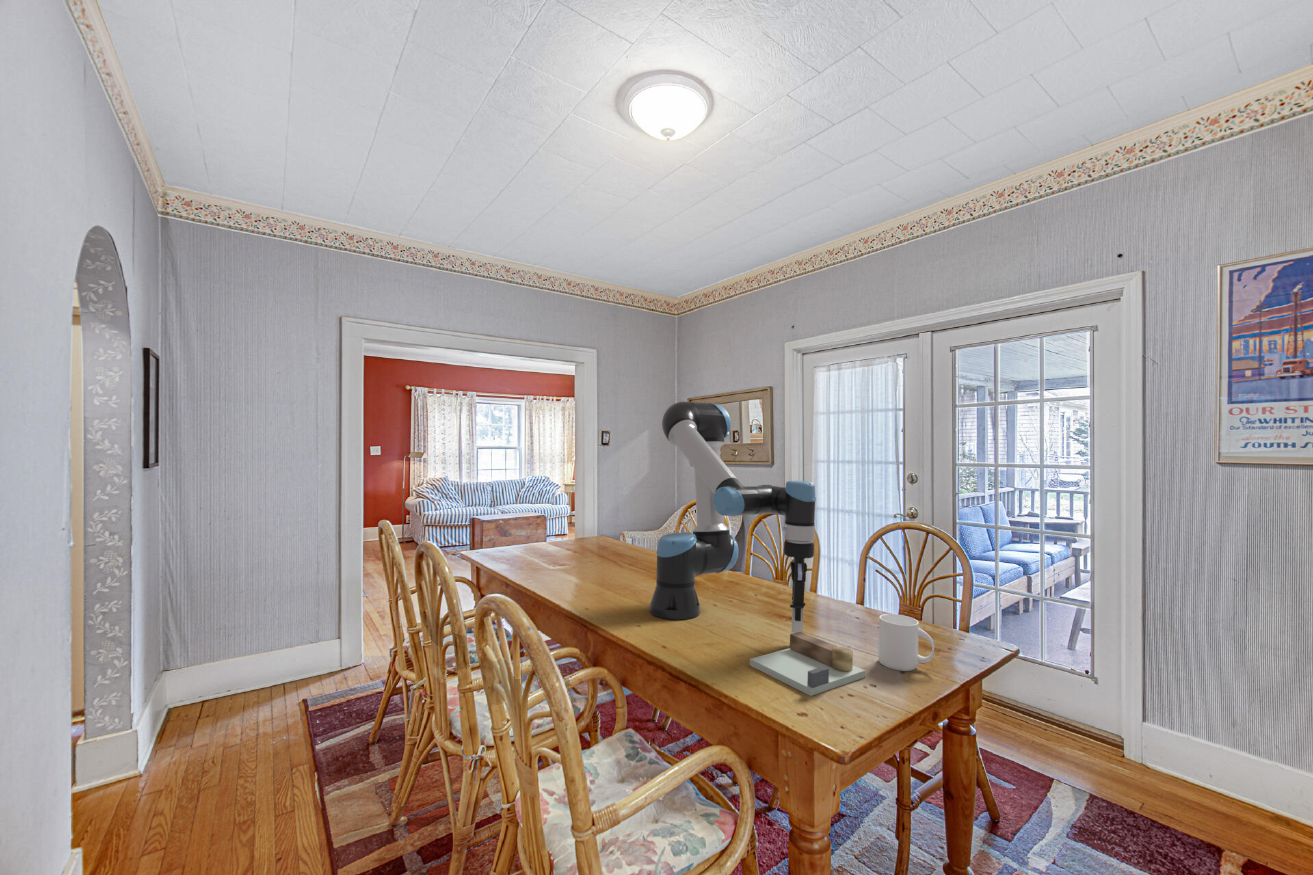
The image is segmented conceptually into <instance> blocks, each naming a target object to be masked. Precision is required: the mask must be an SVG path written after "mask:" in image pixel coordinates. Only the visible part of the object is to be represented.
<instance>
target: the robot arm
mask: <svg viewBox="0 0 1313 875" xmlns="http://www.w3.org/2000/svg"><path fill="white" fill-rule="evenodd" d="M731 422H732V421H731V416H730V415H729V413H728V410H727V409H726V408H724V407H723V406H722V405H720V404H716V403H711V402H694V401H693V402H691V401H678V402H676V403H672V405H670V406H669V407H668V408H667V409H666V411H665V412H664V414H663V416H662V421H661V427H662V428H661V429H662V430H663V433H664V436H665V438H666V439H667V440H668V442H669V443H670V444H671V445H672V446H674V447H677V448H678V449H679V451H680V452H681V454H683V456H684V457H685V458H686V459H687V461H688V462H689V464H690V465H691V467H693V469H694V486H695V503H696V504H695V506H696V507H695V508H696V526H695V527H694V528H693V529H692V532H686V531H683V532H682V531H681V532H671V533H667V534H664V535H661V537H659V539H658V540H657V548H656V582H655V583H656V584H655V585H656V586H655V589H654V591H653V594H652V598H651V601H650V604H649V613H650V614H651V615H653V616H654V617H657V618H660V619H665V620H679V621H680V620H689V619H694V618H696V617H698V616H700V613H701V605H700V602H699V598H698V595H697V590H696V586H695V583H696V582H695V581H696V576H700V575H707V574H714V573H715V574H720V573H723V572H727V571H729V570H731V569H732V568H734V565H736V563H737V561H738V557H739V545H738V542H737V540H736V538H735V537H734V536H733V535H732V534H731V533H730V527H728V526H727V525H726V524H725V516H726V517H739V516H750V515H769V514H771V515H772V514H774V515H779V516H784V524H785V525H784V526H783V527H782V529H781V530H782V531H784V539H785V541H783V542H784V544H783V546H784V547H783V550H784V551H783V554H784V556H786V557H789V558H793V561H790V570H791V571H790V573H791V574H790V575H791V577H790V578H791V581H792V584H791V586H792V588H791V589H792V591H791V592H792V594H791V595H792V596H791V600H792V601H791V603H790V604H789V608H790V609H791V634H792V633H797V632H802V633H804V632H803V631H804V630H803V629H804V608H805V606H806V602H805V587H806V586H805V583H806V580H807V578H806V577H807V571H808V564H807V562H805V559H812V558H814V555H815V543H814V541H815V538H816V537H815V536H816V535H815V534H816V533H815V532H816V525H815V522H816V519H815V518H816V516H815V515H816V501H817V500H816V499H817V497H816V486H815V483H814V482H812V481H808V480H807V481H804V480H788V481H787V482H786V483H785V487H784V486H778V485H777V486H775V485H772V484H758V485H755V486H754V485H752V486H749V485H748V486H744V485H743V484H742V482H741V481H740V480H739V479H738V478H737V477H736V475H735V474H734V473H733V472H732V471H731V469H729V467H728V466H727V465H726V464H725V462H724V461H723V460H722V459H721V448H722V447H723V446H724V444H725V439H726V438H727V437H728V436H729V435H730V431H731V428H732V423H731Z"/></svg>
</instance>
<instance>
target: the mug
mask: <svg viewBox="0 0 1313 875" xmlns="http://www.w3.org/2000/svg"><path fill="white" fill-rule="evenodd" d="M878 624H879V625H878V649H877V650H878V652H877V654H878V662H879V663H880V664H881V665H882V666H884V667H885V668H888V669H890V670H895V671H899V672H901V671H902V672H911V671H915V669H917V668H918V664H925V663H928V662H930V661H931V660H932V658H933V656H934V653H935V642H934V640H933V638H932V637H931V636H930V635H929V633H927V632H926V631H925V630H923V629H922V628H921V627H920V624H919V621H918V620H917V619H915V618H914V617H911V616H907V615H903V614H896V613H885V614H881V615H879V618H878ZM919 637H920V638H924V639H926V640H927V641H928V642H929V644H930V646H931V648H932V649H931V653H930V654H929V655H927V656H923V655H920V654H919Z"/></svg>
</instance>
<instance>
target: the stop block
mask: <svg viewBox="0 0 1313 875" xmlns="http://www.w3.org/2000/svg"><path fill="white" fill-rule="evenodd" d="M827 683H829V668H826V667H824V666H823V667H820V668H816V669H813V670H810V671H808V681H807V686H809V687H811V688H815V687H818V686H821V685H824V684H827Z"/></svg>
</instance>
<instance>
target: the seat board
mask: <svg viewBox="0 0 1313 875" xmlns="http://www.w3.org/2000/svg"><path fill="white" fill-rule="evenodd" d="M749 666H750V667H752V668H754V669H757V670H758V671H759V672H760V671H761V672H762V673H764V674H766V675H768V676H770V677H772V678H774V679H776V680H778V681H780V682H782V683H784V684H786V685H788V686H790V687H792V688H794V689H796V690H798V691H800V692H802V693H803V694H806V695H808V696H810V697H813V696H816V695H819V694H822V693H824V692H826V691H829V690H832V689H835V688H838V687H840V686H843V685H847V684H850V683H852V682H855V681H858V680H861V679H864V678H866V670H865V669H862V668H861V667H858V666H855V665H853V668H852V670H851V671H839V670H836V669H834V668H833V667H832V666H829V665H827V664H825V663H822V662H820V661H818V660H815V659H813V658H811V657H808V656H806V655H804V654H802V653H799V652H797V651H795V650H792V649H790V647H789V648H785V649H780V650H778V651H775V652H770V653H767V654H763V655H759V656H756V657H751V658H749ZM823 666H824V667H826V668H829V683H827V684H824V685H821V686H818V687H815V688H811V687H809V686H807V681H808V671H810V670H813V669H816V668H820V667H823Z"/></svg>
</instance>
